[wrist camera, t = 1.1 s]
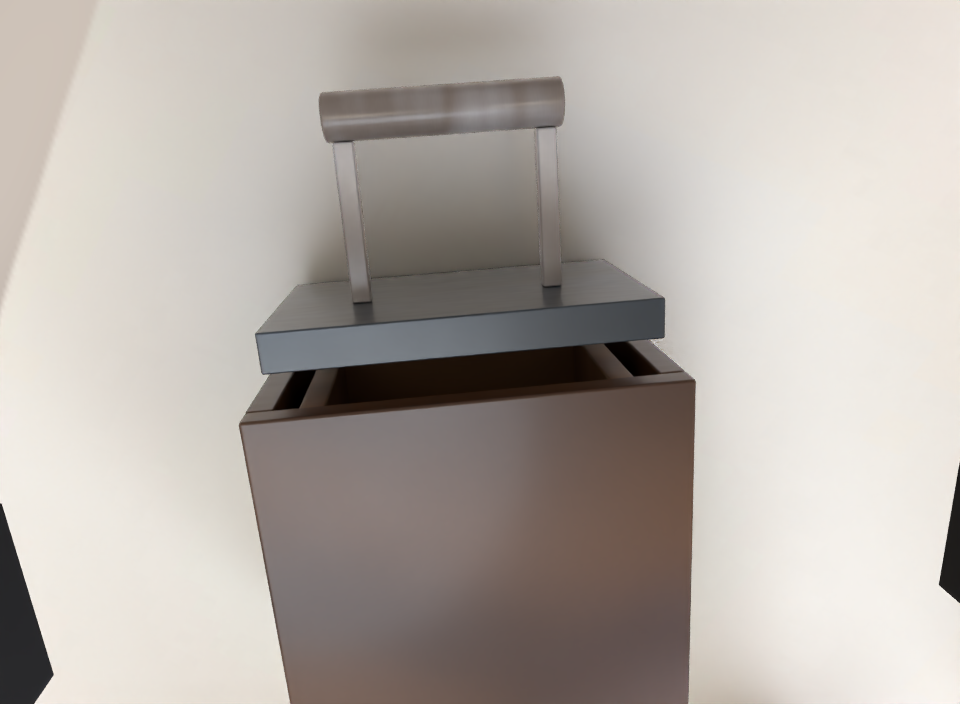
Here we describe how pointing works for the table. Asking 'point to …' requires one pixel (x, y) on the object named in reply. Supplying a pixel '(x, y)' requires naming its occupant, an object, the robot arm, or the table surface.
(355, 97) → the drawer
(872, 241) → the table surface
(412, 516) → the cabinet
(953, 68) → the table surface
